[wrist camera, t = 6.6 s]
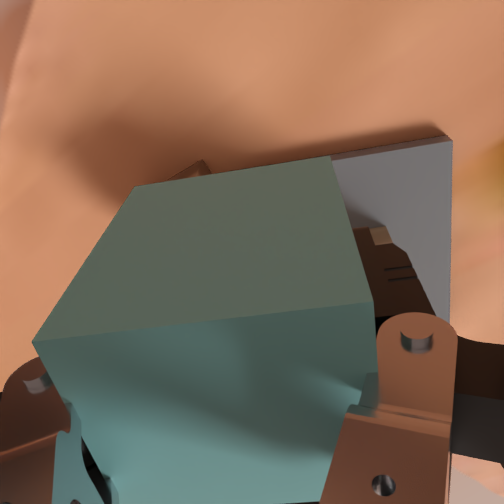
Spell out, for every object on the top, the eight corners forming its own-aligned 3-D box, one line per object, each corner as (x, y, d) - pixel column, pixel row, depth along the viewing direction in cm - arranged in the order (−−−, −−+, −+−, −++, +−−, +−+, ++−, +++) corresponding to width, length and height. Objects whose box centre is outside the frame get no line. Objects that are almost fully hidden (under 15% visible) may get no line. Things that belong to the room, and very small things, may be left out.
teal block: (134, 186, 12) (31, 342, 7) (329, 155, 12) (373, 301, 6) (183, 336, 15) (132, 532, 10) (346, 317, 14) (387, 516, 9)
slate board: (240, 170, 34) (239, 176, 33) (446, 135, 32) (452, 140, 31) (278, 342, 41) (278, 351, 40) (444, 322, 40) (449, 331, 38)
